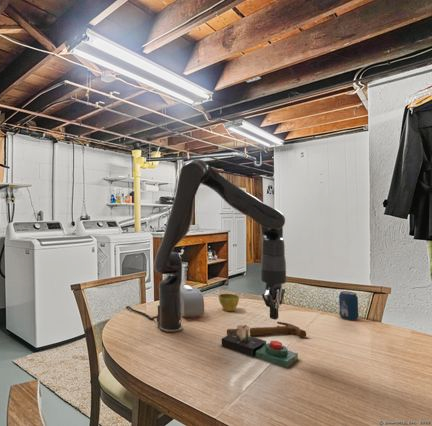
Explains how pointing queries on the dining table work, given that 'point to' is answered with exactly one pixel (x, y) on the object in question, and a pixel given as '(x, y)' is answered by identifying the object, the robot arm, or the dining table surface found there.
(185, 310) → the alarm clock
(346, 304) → the soda can
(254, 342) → the panel
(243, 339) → the dial
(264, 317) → the dining table surface
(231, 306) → the flower pot
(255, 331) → the hammer
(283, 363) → the switchbox
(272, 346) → the button
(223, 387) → the dining table surface
